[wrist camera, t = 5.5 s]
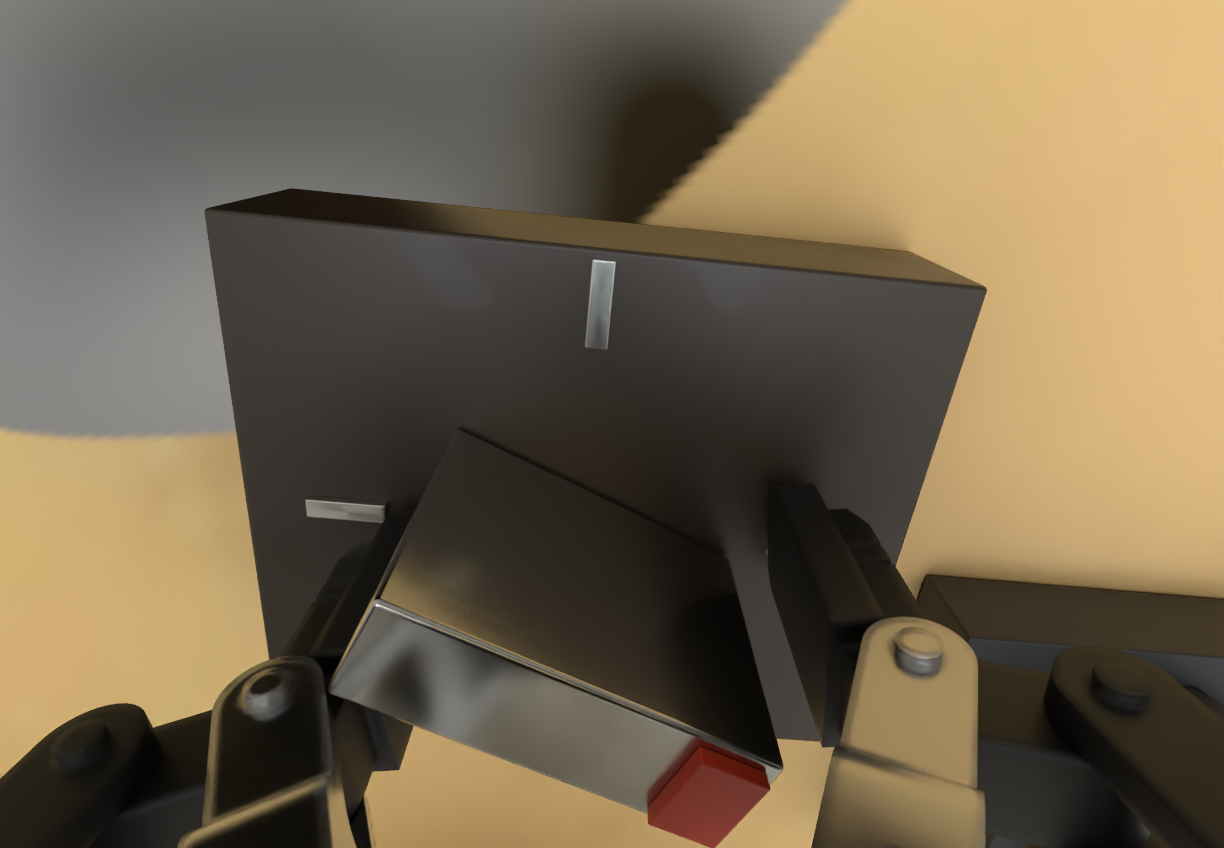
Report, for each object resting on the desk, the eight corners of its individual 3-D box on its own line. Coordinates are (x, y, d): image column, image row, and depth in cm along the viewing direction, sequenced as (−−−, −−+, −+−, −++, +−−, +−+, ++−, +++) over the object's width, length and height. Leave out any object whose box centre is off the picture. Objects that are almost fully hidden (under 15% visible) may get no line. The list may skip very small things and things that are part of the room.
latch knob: (421, 497, 12) (314, 711, 8) (456, 425, 11) (363, 615, 7) (685, 616, 13) (720, 861, 9) (730, 556, 13) (792, 788, 8)
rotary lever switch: (328, 608, 17) (270, 709, 14) (289, 187, 13) (195, 209, 10) (802, 645, 17) (840, 751, 15) (912, 251, 13) (995, 289, 10)
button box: (838, 820, 20) (887, 975, 17) (926, 574, 16) (1014, 704, 13) (1130, 839, 21) (1240, 995, 17) (1280, 603, 17) (1463, 738, 13)
